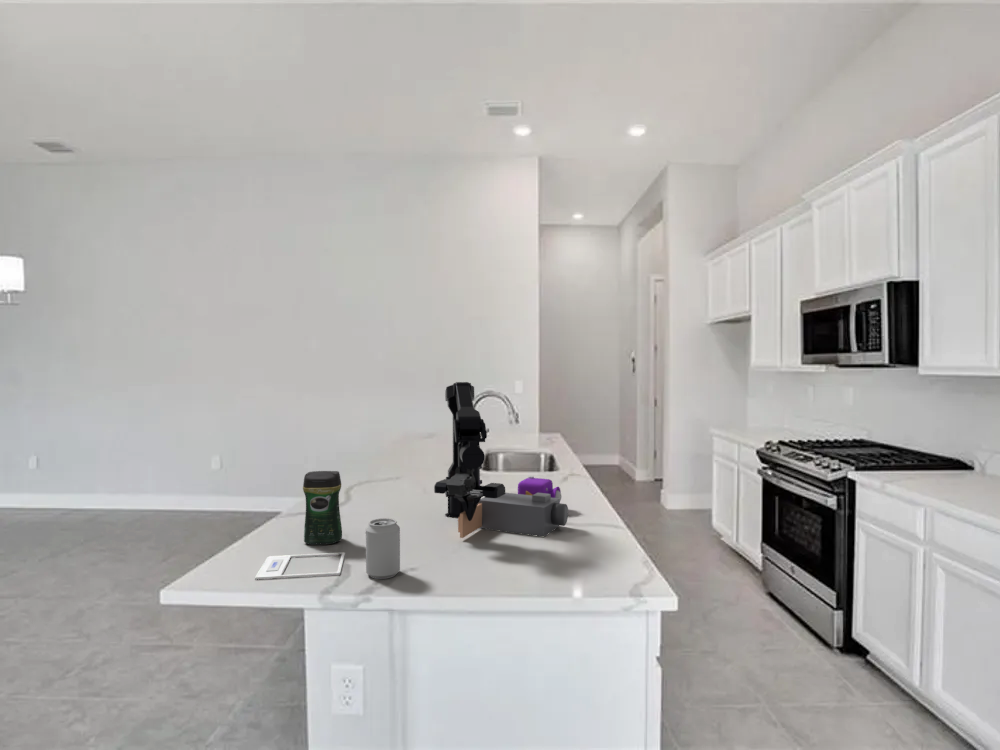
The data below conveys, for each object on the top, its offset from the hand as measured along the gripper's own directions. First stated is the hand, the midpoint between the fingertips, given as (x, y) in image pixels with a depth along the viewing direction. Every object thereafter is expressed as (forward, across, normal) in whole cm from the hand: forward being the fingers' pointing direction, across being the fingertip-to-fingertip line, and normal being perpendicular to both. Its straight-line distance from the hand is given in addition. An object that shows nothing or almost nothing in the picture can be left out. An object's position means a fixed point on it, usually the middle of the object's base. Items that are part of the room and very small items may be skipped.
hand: (470, 520), depth 163 cm
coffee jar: (+5, -34, -18) cm, 39 cm away
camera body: (+5, +9, +17) cm, 19 cm away
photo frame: (+5, -26, -35) cm, 44 cm away
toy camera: (+6, +5, +38) cm, 38 cm away
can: (+5, -6, -31) cm, 32 cm away
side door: (+4, -2, +4) cm, 6 cm away
